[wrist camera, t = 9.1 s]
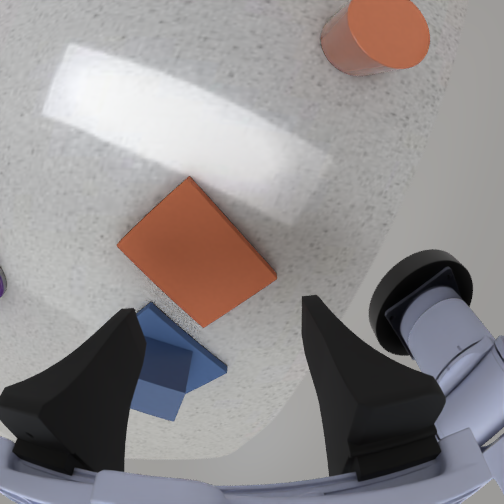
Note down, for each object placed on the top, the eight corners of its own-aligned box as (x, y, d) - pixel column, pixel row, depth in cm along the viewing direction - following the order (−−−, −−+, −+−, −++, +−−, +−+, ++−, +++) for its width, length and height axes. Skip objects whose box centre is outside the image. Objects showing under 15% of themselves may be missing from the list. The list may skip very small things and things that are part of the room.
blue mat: (227, 366, 26) (227, 372, 26) (175, 393, 28) (174, 399, 27) (151, 301, 23) (148, 307, 22) (104, 339, 25) (101, 344, 24)
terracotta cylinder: (398, 57, 15) (444, 47, 10) (349, 88, 17) (386, 84, 12) (358, 3, 14) (393, -24, 9) (305, 33, 15) (328, 8, 10)
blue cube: (193, 351, 24) (185, 393, 20) (181, 382, 26) (173, 421, 22) (140, 334, 24) (125, 374, 20) (134, 367, 25) (121, 405, 21)
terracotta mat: (276, 273, 22) (277, 279, 21) (204, 321, 24) (203, 328, 23) (189, 175, 19) (187, 178, 18) (119, 240, 21) (115, 245, 20)
